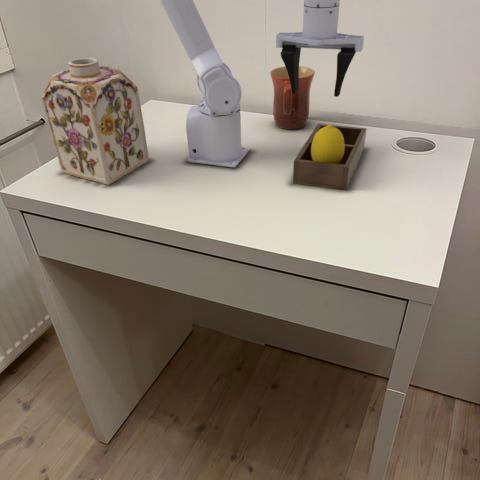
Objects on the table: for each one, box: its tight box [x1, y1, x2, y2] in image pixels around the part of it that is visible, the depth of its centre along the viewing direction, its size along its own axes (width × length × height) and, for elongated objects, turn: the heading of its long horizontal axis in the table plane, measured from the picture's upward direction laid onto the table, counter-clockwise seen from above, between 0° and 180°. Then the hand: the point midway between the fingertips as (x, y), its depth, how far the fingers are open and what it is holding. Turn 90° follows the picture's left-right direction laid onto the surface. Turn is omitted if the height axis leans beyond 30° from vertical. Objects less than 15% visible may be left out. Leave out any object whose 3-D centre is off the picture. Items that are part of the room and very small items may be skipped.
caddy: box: [292, 123, 368, 191], centre depth 89 cm, size 9×17×4 cm, turn 160°
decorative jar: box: [41, 57, 150, 186], centre depth 86 cm, size 12×12×18 cm
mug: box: [269, 65, 316, 130], centre depth 101 cm, size 12×9×10 cm
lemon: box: [311, 124, 345, 164], centre depth 84 cm, size 6×6×8 cm
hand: (315, 93), depth 90 cm, fingers open, 7 cm apart
